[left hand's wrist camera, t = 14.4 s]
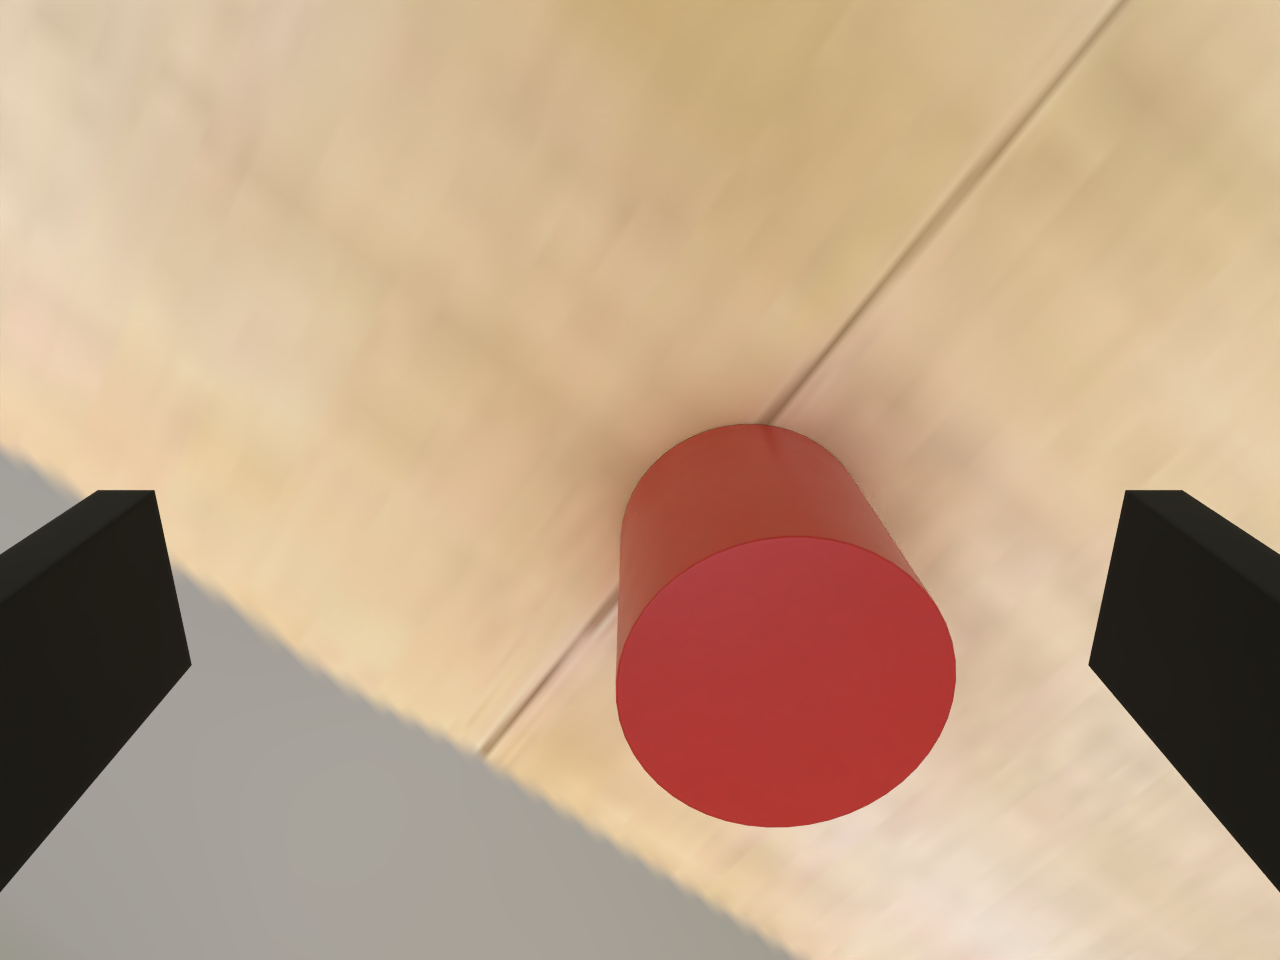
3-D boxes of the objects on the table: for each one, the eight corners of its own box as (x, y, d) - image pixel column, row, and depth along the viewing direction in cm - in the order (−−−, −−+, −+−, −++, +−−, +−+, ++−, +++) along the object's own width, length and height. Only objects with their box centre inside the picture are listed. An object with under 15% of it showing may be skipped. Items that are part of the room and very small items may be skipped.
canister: (647, 667, 34) (651, 852, 25) (596, 451, 31) (581, 572, 22) (879, 625, 33) (968, 799, 24) (851, 401, 30) (942, 505, 21)
